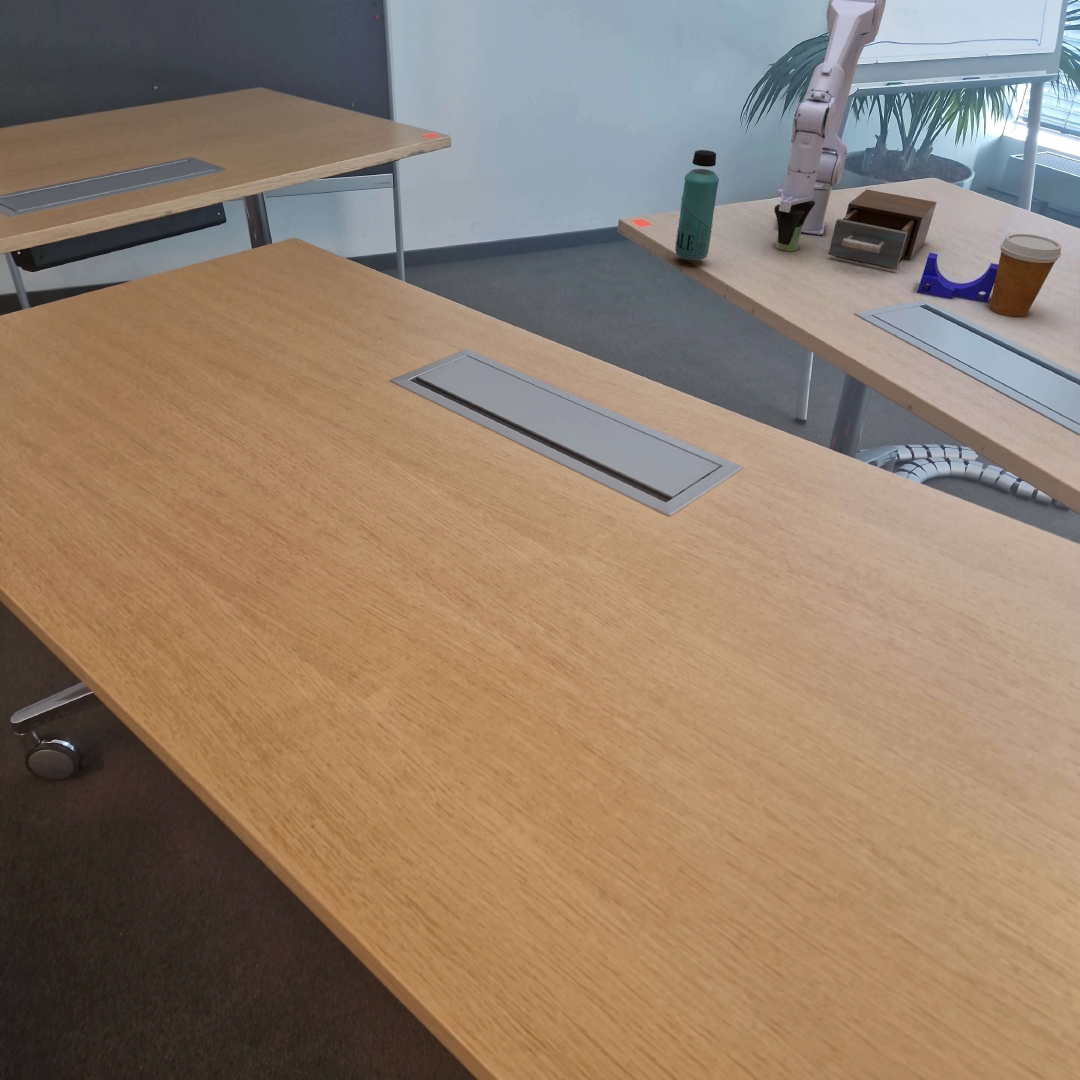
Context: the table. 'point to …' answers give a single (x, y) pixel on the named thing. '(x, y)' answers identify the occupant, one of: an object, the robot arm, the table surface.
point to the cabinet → (899, 213)
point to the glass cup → (794, 241)
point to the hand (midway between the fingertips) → (787, 240)
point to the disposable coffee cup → (1022, 272)
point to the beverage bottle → (697, 208)
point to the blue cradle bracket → (949, 289)
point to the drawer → (872, 237)
